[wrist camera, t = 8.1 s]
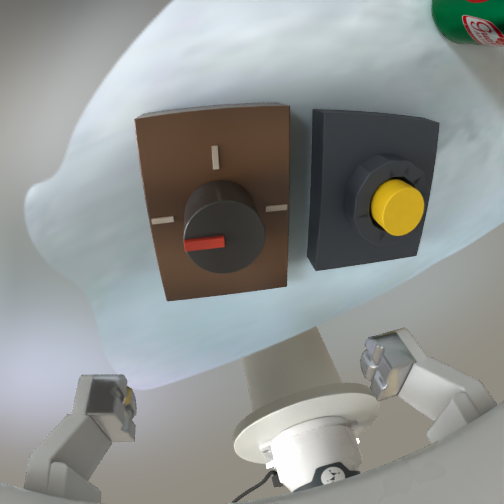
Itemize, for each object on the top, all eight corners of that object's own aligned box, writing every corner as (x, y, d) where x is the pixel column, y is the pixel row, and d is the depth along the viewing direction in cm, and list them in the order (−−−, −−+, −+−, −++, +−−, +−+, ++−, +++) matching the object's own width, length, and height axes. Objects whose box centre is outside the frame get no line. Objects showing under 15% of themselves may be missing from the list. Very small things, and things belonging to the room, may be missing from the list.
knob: (253, 176, 19) (266, 198, 15) (255, 240, 21) (267, 272, 18) (180, 183, 18) (177, 208, 15) (189, 247, 20) (189, 281, 17)
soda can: (424, 28, 17) (546, 32, 7) (429, -18, 15) (541, -30, 4) (464, 52, 18) (574, 72, 8) (468, 8, 16) (573, 15, 6)
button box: (404, 243, 27) (427, 266, 24) (306, 256, 26) (323, 284, 23) (422, 117, 21) (454, 127, 18) (312, 109, 20) (336, 116, 17)
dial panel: (277, 265, 26) (287, 288, 23) (168, 278, 25) (166, 303, 22) (277, 102, 19) (290, 105, 17) (142, 114, 18) (133, 119, 16)
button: (406, 223, 22) (419, 233, 20) (367, 227, 21) (379, 238, 20) (414, 178, 20) (428, 187, 18) (373, 179, 20) (386, 188, 18)
